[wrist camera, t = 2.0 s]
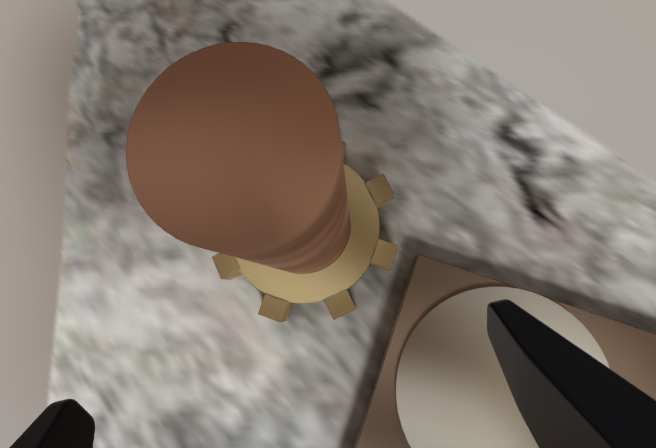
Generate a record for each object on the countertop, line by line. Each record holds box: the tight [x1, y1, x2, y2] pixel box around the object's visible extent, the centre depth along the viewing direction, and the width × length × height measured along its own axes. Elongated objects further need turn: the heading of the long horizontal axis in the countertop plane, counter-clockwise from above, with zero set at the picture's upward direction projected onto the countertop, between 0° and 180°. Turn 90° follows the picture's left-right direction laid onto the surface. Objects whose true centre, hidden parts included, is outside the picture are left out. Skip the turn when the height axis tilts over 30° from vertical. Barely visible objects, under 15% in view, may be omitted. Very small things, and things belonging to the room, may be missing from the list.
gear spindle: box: [126, 42, 398, 322], centre depth 15 cm, size 9×9×12 cm
